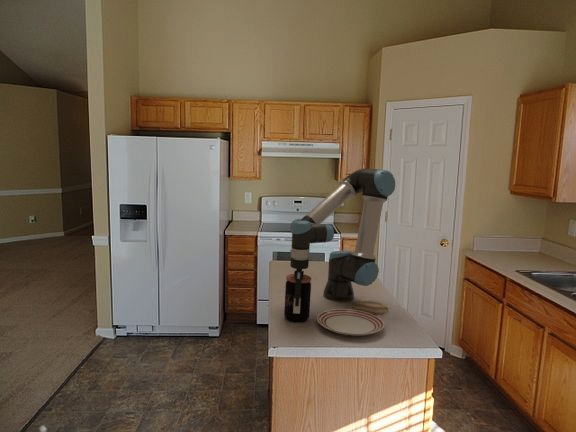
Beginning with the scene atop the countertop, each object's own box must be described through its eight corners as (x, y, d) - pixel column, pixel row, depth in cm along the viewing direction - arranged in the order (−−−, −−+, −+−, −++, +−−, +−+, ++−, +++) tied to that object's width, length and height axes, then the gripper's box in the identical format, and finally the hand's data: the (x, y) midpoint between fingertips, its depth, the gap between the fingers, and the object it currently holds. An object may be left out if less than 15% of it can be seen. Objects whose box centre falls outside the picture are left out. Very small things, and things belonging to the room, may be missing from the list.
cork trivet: (351, 301, 195) (351, 300, 195) (384, 303, 194) (385, 302, 194) (355, 313, 179) (355, 312, 179) (391, 315, 178) (391, 314, 178)
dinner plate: (305, 317, 172) (306, 310, 172) (361, 312, 182) (361, 305, 182) (335, 345, 147) (335, 337, 147) (397, 337, 157) (398, 329, 156)
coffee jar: (281, 314, 174) (282, 274, 172) (304, 312, 177) (306, 273, 175) (288, 324, 164) (290, 281, 162) (312, 322, 167) (315, 280, 165)
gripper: (292, 251, 179) (289, 296, 182) (289, 265, 155) (286, 317, 158) (308, 252, 179) (306, 297, 182) (308, 266, 155) (305, 319, 157)
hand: (297, 307), depth 170 cm, fingers open, 13 cm apart
